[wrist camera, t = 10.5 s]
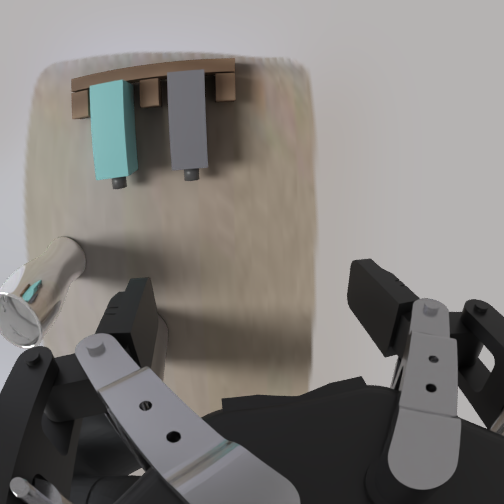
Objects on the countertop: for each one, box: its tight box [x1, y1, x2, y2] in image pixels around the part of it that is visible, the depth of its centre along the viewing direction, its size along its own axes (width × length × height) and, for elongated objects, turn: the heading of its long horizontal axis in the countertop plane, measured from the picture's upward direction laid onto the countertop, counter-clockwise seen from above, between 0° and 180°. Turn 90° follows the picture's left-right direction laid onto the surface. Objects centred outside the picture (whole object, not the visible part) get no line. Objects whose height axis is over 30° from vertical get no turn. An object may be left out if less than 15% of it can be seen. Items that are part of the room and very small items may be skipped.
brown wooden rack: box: [71, 58, 235, 119], centre depth 29 cm, size 5×18×2 cm, turn 91°
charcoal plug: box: [167, 69, 208, 181], centre depth 30 cm, size 12×4×5 cm, turn 1°
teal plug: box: [90, 80, 138, 189], centre depth 29 cm, size 12×4×5 cm, turn 1°
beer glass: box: [0, 237, 86, 349], centre depth 29 cm, size 7×7×15 cm
